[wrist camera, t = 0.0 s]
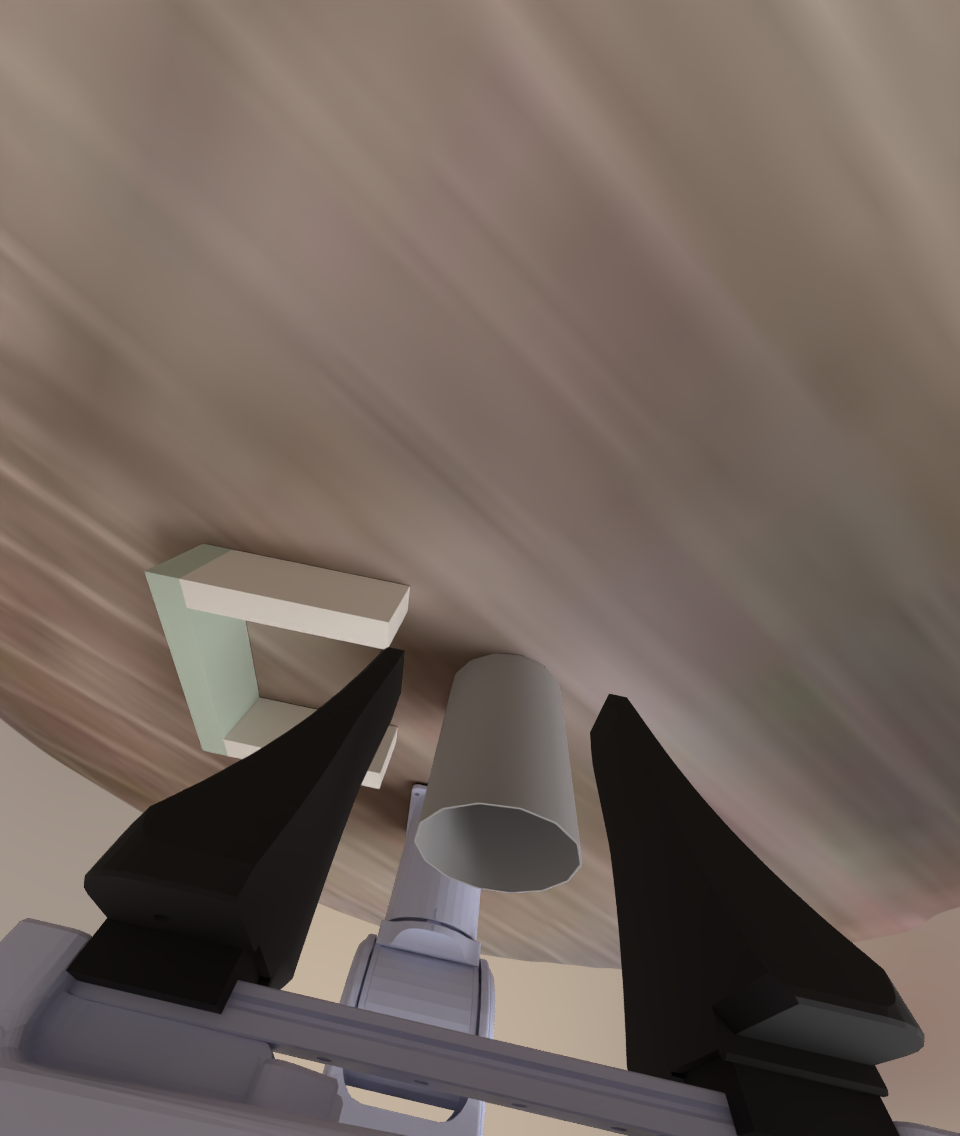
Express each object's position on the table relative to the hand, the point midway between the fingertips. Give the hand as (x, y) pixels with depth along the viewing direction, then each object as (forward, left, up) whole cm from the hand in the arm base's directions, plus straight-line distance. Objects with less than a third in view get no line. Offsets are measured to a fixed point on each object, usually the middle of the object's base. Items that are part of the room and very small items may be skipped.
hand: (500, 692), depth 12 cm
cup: (-11, -2, -10) cm, 15 cm away
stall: (-11, +13, -10) cm, 20 cm away
